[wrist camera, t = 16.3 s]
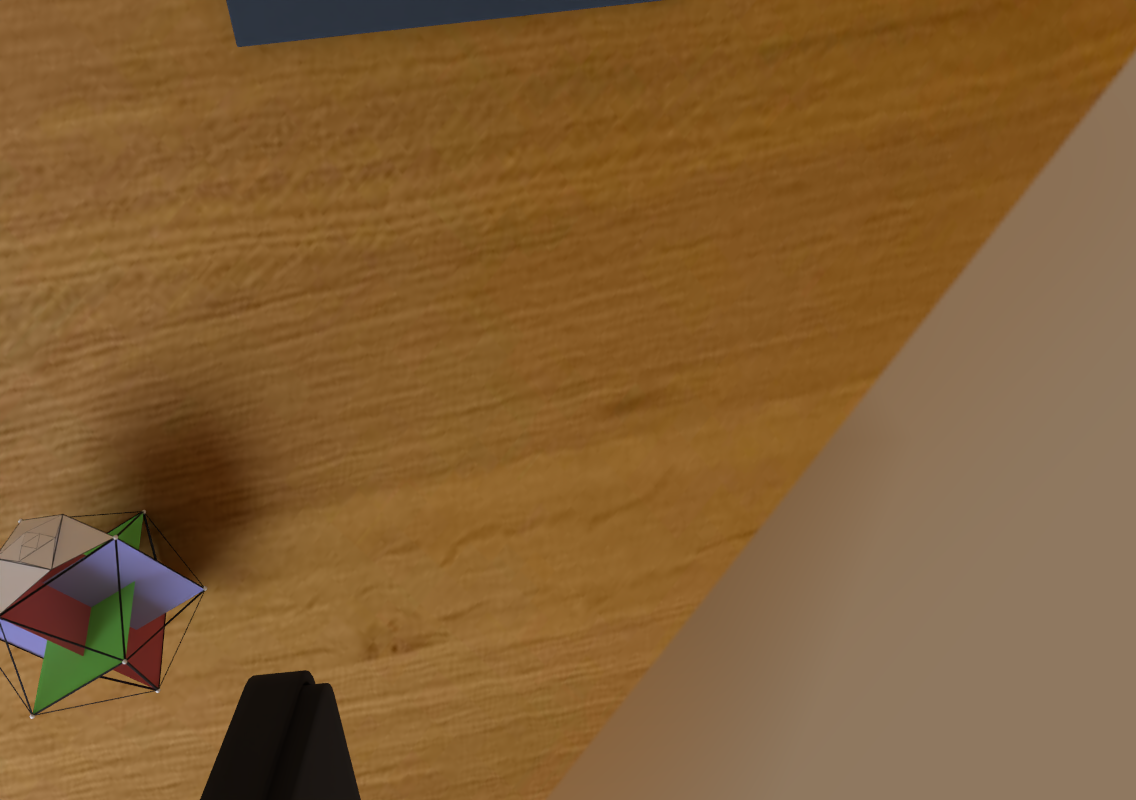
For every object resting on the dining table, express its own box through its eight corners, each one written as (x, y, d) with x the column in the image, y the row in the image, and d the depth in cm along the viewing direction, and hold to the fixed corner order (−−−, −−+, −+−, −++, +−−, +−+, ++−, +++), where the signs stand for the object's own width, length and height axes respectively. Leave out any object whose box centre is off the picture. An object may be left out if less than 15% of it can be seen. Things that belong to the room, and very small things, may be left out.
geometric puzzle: (267, 643, 36) (113, 674, 28) (132, 720, 37) (-51, 770, 29) (202, 480, 38) (41, 467, 30) (75, 559, 39) (-111, 566, 31)
